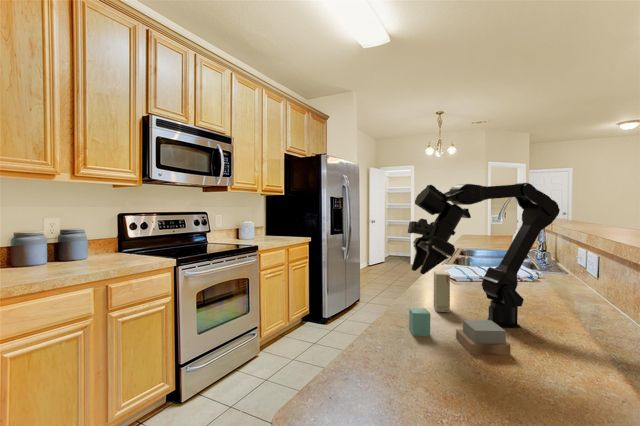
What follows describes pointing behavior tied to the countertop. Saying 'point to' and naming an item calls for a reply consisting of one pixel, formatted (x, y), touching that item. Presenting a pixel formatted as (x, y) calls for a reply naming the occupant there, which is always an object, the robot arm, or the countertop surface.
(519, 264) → the robot arm
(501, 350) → the bottom block
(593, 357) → the countertop surface
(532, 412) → the countertop surface
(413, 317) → the pillar block
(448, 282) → the skincare box
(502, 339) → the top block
